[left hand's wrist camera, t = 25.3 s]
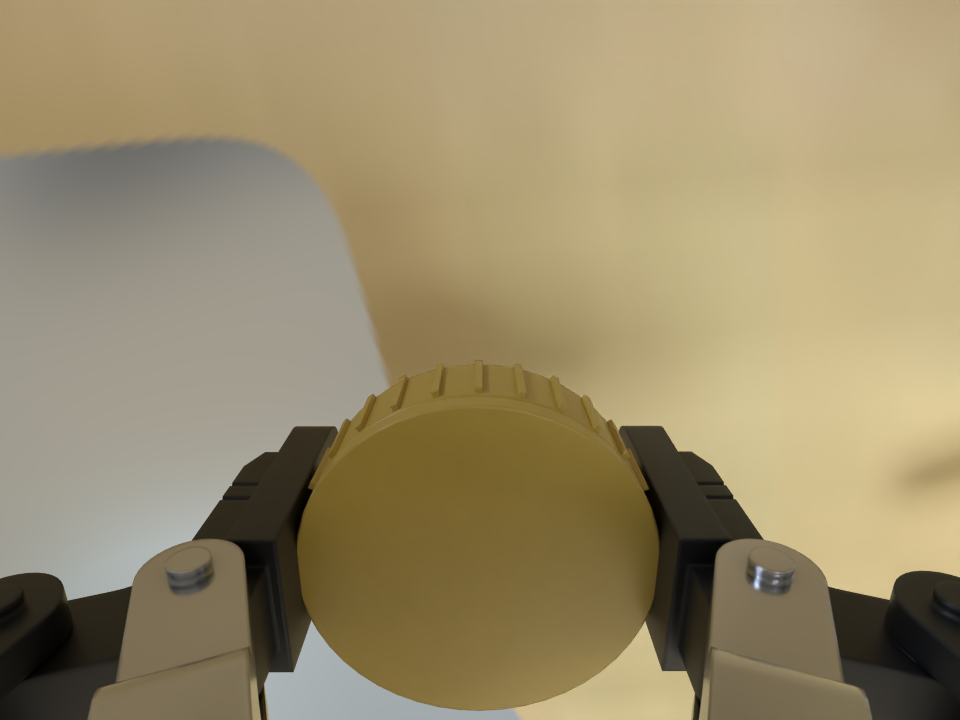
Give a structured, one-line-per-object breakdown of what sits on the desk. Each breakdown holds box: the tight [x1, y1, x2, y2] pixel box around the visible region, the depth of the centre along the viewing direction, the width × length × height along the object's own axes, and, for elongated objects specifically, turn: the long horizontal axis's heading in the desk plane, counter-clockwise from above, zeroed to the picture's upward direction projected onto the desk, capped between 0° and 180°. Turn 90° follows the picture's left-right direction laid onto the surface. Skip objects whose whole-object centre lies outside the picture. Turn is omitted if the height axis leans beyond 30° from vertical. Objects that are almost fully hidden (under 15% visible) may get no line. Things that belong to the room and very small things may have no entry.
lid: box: [297, 360, 660, 711], centre depth 10 cm, size 6×6×2 cm
